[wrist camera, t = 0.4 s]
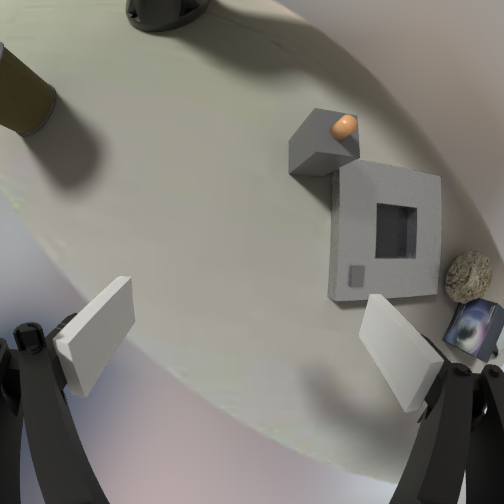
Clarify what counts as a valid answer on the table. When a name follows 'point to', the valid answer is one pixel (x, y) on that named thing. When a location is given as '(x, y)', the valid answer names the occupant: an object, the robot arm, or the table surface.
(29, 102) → the canister
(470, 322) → the small box
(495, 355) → the white short cylinder
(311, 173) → the plug
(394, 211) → the socket
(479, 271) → the stone
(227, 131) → the table surface
